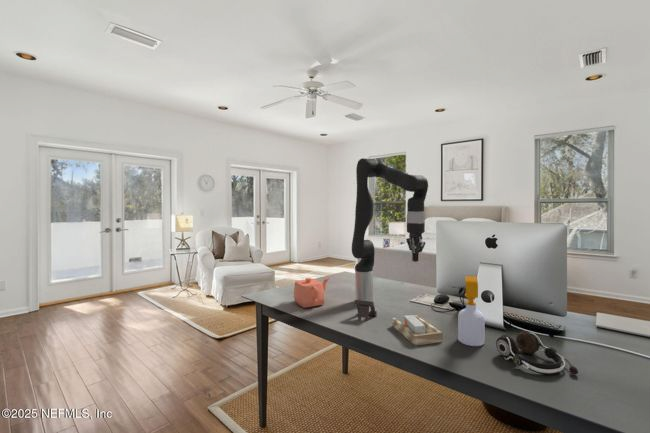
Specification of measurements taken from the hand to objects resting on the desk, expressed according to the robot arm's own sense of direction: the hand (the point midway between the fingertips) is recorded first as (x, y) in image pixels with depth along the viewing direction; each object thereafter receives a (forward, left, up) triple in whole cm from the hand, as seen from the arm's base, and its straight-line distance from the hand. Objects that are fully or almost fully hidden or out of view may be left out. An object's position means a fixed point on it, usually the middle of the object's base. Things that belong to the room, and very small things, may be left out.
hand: (415, 261), depth 139 cm
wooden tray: (+10, -6, -27) cm, 29 cm away
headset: (+42, +19, -28) cm, 54 cm away
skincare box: (+5, -7, -24) cm, 26 cm away
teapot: (-40, -37, -27) cm, 61 cm away
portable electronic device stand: (-12, -19, -27) cm, 35 cm away
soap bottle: (+23, +10, -27) cm, 37 cm away
